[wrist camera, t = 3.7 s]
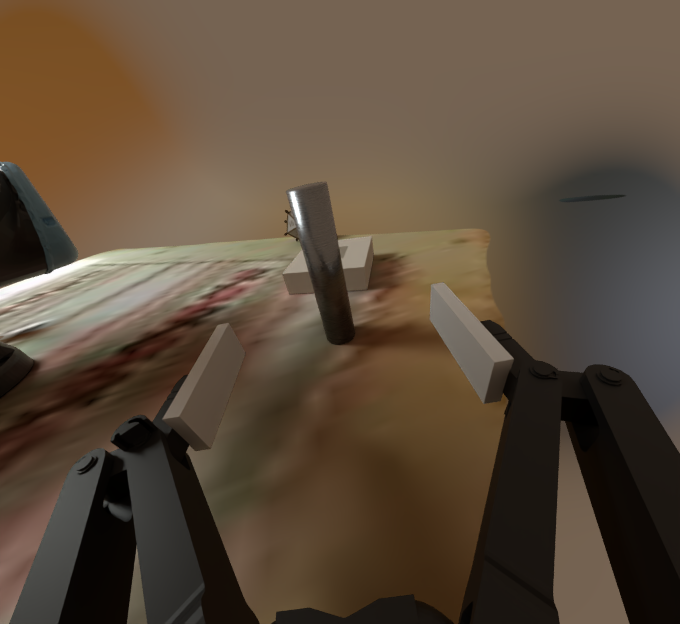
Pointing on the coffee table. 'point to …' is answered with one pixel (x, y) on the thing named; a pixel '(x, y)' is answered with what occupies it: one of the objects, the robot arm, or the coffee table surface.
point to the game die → (291, 225)
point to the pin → (323, 258)
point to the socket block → (354, 262)
